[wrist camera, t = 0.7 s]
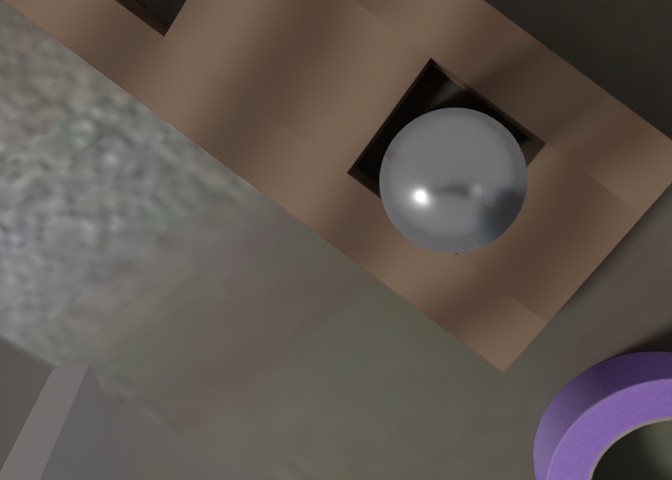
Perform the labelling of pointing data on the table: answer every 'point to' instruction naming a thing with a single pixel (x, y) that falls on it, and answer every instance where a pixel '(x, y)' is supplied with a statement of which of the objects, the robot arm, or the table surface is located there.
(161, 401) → the table surface
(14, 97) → the table surface
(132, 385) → the table surface
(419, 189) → the steel pin
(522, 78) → the brown block with holes
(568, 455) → the masking tape
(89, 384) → the robot arm
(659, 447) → the table surface
